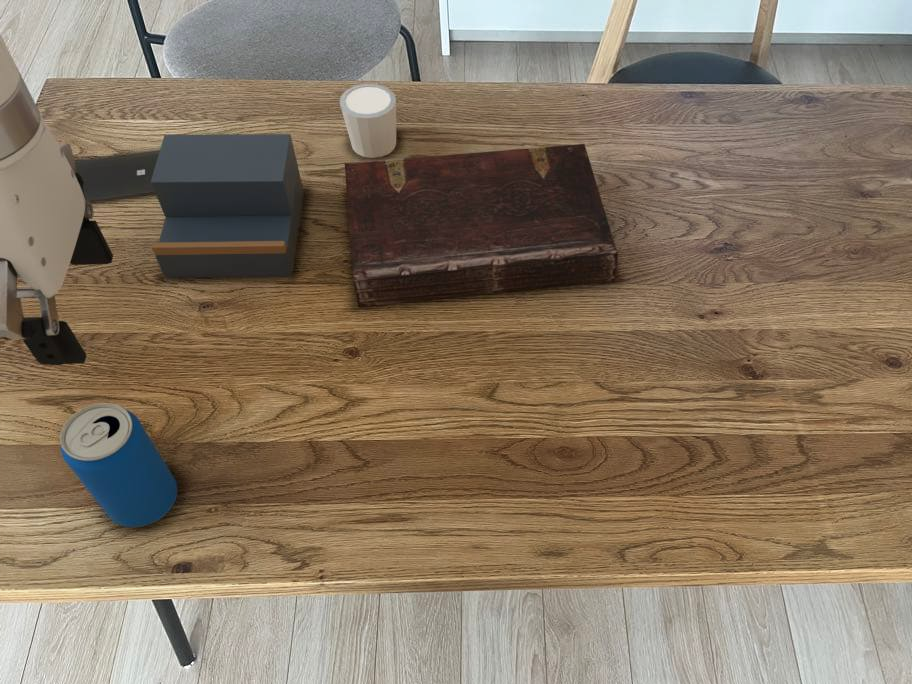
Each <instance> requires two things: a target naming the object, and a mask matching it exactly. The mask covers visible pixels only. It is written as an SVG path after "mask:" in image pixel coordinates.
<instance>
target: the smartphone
mask: <svg viewBox="0 0 912 684" xmlns="http://www.w3.org/2000/svg"><path fill="white" fill-rule="evenodd" d="M159 152H160V150H154V151H147V152H146V151H145V152H138V153H130V154H122V155H116V156H115V155H113V156H107V157H99V158H93V159H86V160H84V159H83V160H77V161H75V165H76V170H75V173H79V174H80V175H81V177H82V178H83V179H82V181H84V185H83V191H84V199H85V201H86V202H90V203H91V204H93V203H100V202H106V201H115V200H121V199H122V200H123V199H128V198H129V199H130V198H135V197H143V196H150V195H156V193H155V191H154V189H153V186H152V184H151V180H152V176H153V173H154V170H155V166H156V163H157V159H158V156H159Z"/></svg>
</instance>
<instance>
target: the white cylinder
mask: <svg viewBox="0 0 912 684" xmlns="http://www.w3.org/2000/svg"><path fill="white" fill-rule="evenodd" d="M339 106H340V109H341V112H342V116H343V120H344V123H345V127H346V130H347V134H348V137H349V141H350V145H351V148H352V150H353V151H354V152H355V153H356V154H357V155H359V156H361V157H363V158H369V159H370V158H371V159H376V158H382V157H385V156H386V155H389V154H390V153H392V152H393V151H394V150H395V148H396V145H397V98H396V95H395V93H394V92H393V91H392V90H391V89H390V88H389V87H386V86H383V85H381V84H378V83H377V84H376V83H362V84H356V85H355V86H352V87H350V88H347V90H345V91H344V92H343V93H342V94H341V96H340V98H339Z"/></svg>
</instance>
